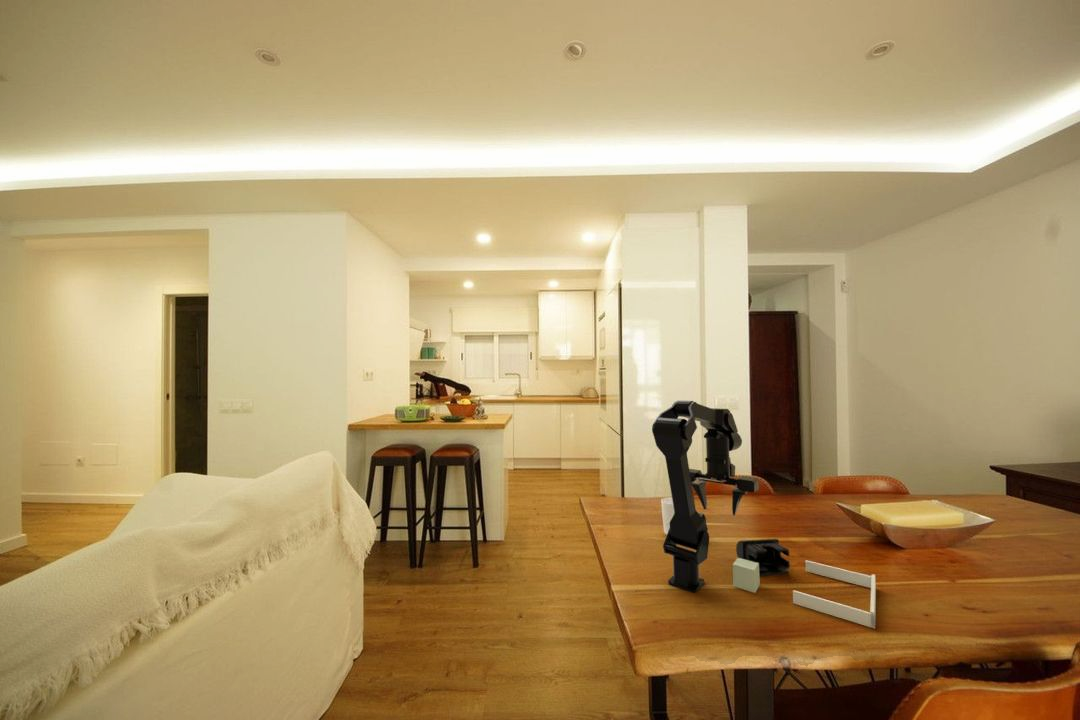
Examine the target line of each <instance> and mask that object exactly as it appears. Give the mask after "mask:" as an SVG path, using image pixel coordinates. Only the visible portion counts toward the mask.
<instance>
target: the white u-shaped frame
mask: <svg viewBox="0 0 1080 720" xmlns="http://www.w3.org/2000/svg"><path fill="white" fill-rule="evenodd" d="M804 562H805V572H807V573H811V574H814V575H819V576H823V577H826V578H830V579H834V580H837V581H841V582H845V583H850V584H853V585H857V586H861V587H864V588H865V587H866V588H870V607H869V608H870V609H869V611H866V610H863V609H859V608H856V607H854V606H849V605H846V604H843V603H839V602H836V601H832V600H828V599H826V598H825V599H824V598H823V597H819V596H815V595H812V594H808V593H804V592H801V591H798V590H794V589H793V590H792V601H793V602H792V603H793V604H795V605H798V606H800V607H804V608H807V609H811V610H814V611H817V612H819V613H823V614H827V615H830V616H833V617H837V618H840V619H843V620H846V621H849V622H852V623H855V624H859V625H863V626H865V627H867V628H871V629H876V616H877V615H876V612H877V611H876V610H877V609H876V607H877V606H876V605H877V603H876V602H877V601H876V600H877V584H876V583H877V582H876V574H871V575H870V574H865V573H861V572H855V571H852V570H848V569H843V568H839V567H836V566H831V565H827V564H823V563H819V562H815V561H810V560H807V559H806V560H805V561H804Z"/></svg>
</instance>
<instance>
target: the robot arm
mask: <svg viewBox="0 0 1080 720" xmlns="http://www.w3.org/2000/svg"><path fill="white" fill-rule="evenodd" d="M680 417H681V418H680ZM687 419H688V420H687ZM696 421H697V422H699V425H700V426H701V427H703V428H704V429H706V431H707V432H705V433H704V434H703V438H704V439H705V441H706V442H705V444H706V445H705V448H706V457H705V458H704V459H705V460H704V461H705V463H706V473H703V472H702V470H701V469H694V468H690V466H689V460H688V451H689V449H690V448H691V446H692V443H693V435H694V433H695V432H696V430H697V429H698V426H697V423H696ZM651 431H652V436H653V438H654V441H655V445H656V447H657V448H658V450H659V451H660V452H661V453H662V455H663V456H664V460H665V463H666V469H667V476H668V482H669V483H668V484H669V487H670V493H671V495H670V496H671V497H672V501H673V507H674V515H673V517H672V519H671V521H670V523H669V524H670V528H669V531H668V534H667V535H666V537H665V540H664V541H663V546H662V548H663V552H664V554H665V555H671V556H672V570H673V575H672V576H671V577H670V578H669V579H668V580H667V584H670V585H673V586H675V587H679V588H680V589H683V590H687V591H689V592H693V593H696V592H698V591H699V589H700V588H701V587H702V586H703V585H704V584H705V583H706V582H705V581H706V580H705V579H704V578H701V577H700V564H702V563H704V561H706V560H707V559H708V554H709V547H710V546H709V545H710V534H709V532H708V531H709V530H708V526H707V525H708V524H707V518H706V516H705V514H704V513H701V512H698V511H697V509H696V502H695V497H694V492H695V494H696V495H697V496H698V499H699V502H700V504H701V506H702V507H703V510H707V508H708V499H707V493H706V492H707V491H706V490H707V489H706V486H707V482H709V483H713V484H714V483H716V484H722V485H729V486H734V489H733V490H732V495H731V496H732V502H731V505H732V506H731V507H732V509H731V510H732V515H733V516H736V513H737V511H738V508H739V505H740V502H741V501H742V497H743V496H744V495H746V494H747V493H755V492H757V491H758V490H759V489H760V481H759V480H758V478H756V477H751V476H744V475H741V476H740V477H738V478H735V476H736V465H735V464H733V463H732V461H731V457H730V452H733V451H736V450H738V449H739V448H740V447H741V446H742V443H743V440H742V437H741V435H740V433H738V431H739V430H738V427H737V424H736V421H735V418H734V415H733V413H732V412H731V410H730V409H728V408H718V407H717V408H713V407H708V406H706V405H702V404H700V403H697V401H694V400H676V401H674V402H673V404H672V405H671V407H669V408H667V409H665V410H664V411H662V412H660V414H659V415H658V416H657V417H656V419H655V421H654V422H653V424H652V426H651Z"/></svg>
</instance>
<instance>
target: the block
mask: <svg viewBox="0 0 1080 720" xmlns="http://www.w3.org/2000/svg"><path fill="white" fill-rule="evenodd" d="M760 577H761V576H759V563H756V562H752V561H749V560H745V559H741V558H738V557H737V558H736V559H735V561H734V562H733V563H732V580H733V581H732V584H733V585H732V586H733V587H735V588H738V589H741V590H745V591H747V592H750V593H755V594H756V592H757V591H758V589H759V588H760V586H761V583H760V581H761V580H760Z"/></svg>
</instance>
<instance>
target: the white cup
mask: <svg viewBox="0 0 1080 720" xmlns="http://www.w3.org/2000/svg"><path fill="white" fill-rule="evenodd" d="M660 501H661V516H662V524H663V533H664V534H665V535H666V536H667V534H668V531H669V528H670V524H669V523H670V521H671V519H672V517H673V515H674V507H673V501H672V496H671V497H670V496H669V497H664V498H661V500H660Z"/></svg>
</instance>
